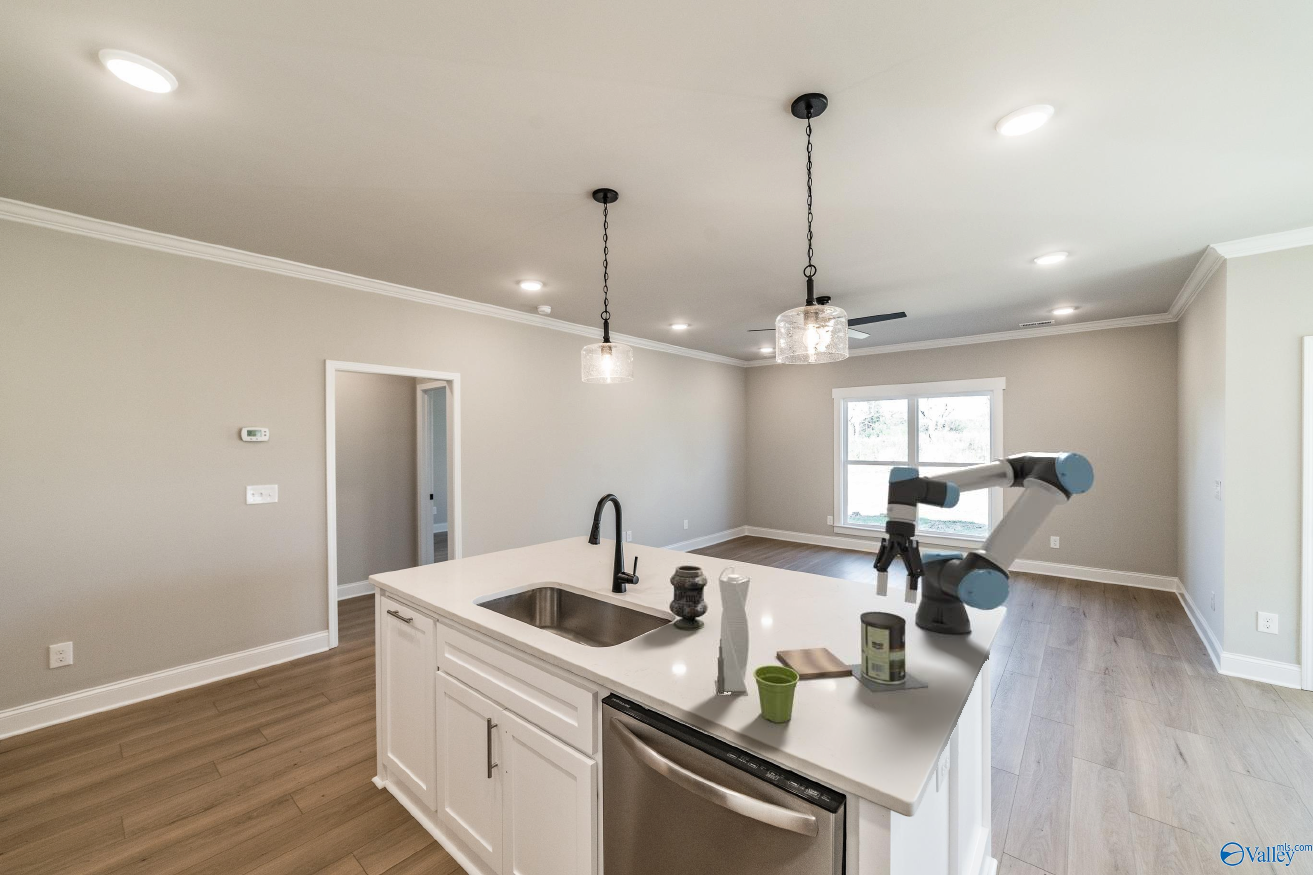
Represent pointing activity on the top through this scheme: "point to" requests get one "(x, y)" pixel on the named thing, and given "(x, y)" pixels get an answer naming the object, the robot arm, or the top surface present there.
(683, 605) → the apothecary jar
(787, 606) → the top surface
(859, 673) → the gray tile
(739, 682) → the skyscraper
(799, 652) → the walnut board
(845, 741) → the top surface
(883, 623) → the coffee can
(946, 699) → the top surface
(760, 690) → the plant pot
